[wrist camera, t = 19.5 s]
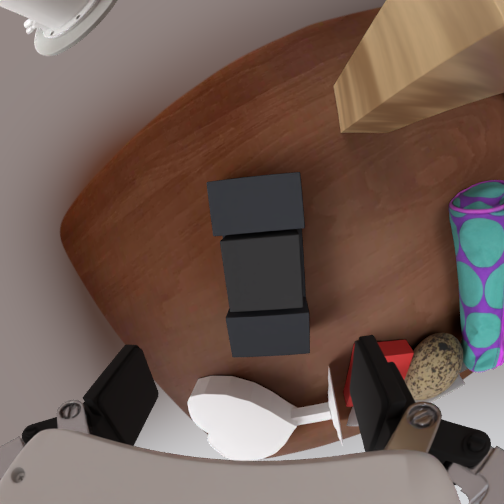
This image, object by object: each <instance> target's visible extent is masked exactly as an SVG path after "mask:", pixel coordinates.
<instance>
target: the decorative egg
mask: <svg viewBox="0 0 504 504" xmlns="http://www.w3.org/2000/svg"><path fill="white" fill-rule="evenodd" d="M413 352H414V354H413V357H412V360H411V363H410V366H409V369H408V371H407V374H406V377H405V379H404V381H405V383H406V385H407V387H408V389H409V391H410V392H411V394H412V396H413V398H414V400H426V399H430V398H433V397H435V396H437V395H439V394H441V393H443V392H444V391H445V390H447V389H448V388H449V387H450V386H451V385H452V384H453V383H454V381H455V380H456V378H457V377H458V375H459V373H460V371H461V368H462V364H463V350H462V346H461V344H460V342H459V341H458V339H457V338H456V337H454V336H453V335H451V334H448V333H436V334H433V335H430V336H429V337H427V338H425V339H424V340H423V341H422V342H420V343H419V344H418V346H417V347H416V348H415V349H414V351H413Z"/></svg>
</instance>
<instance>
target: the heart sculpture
mask: <svg viewBox="0 0 504 504" xmlns="http://www.w3.org/2000/svg"><path fill="white" fill-rule="evenodd" d="M328 382H329V387H328V402H326V403H321V404H317V405H311V406H306V407H300V408H297V407H296V406H294V405H292V404H290V403H288V402H287V401H285V400H284V399H282V398H281V397H279V396H278V395H276V394H275V393H273V392H272V391H270V390H268V389H266V388H264V387H262V386H260V385H258V384H256V383H255V382H251V381H248V380H244V379H241V378H237V377H234V376H208V377H204V378H200V379H198V381H197V383H196V385H195V387H194V389H193V392H192V394H191V396H190V398H189V400H188V402H187V403H188V409H189V413H190V415H191V418H192V420H193V421H194V423H195V424H196V425H197V426H198V427H199V428H201V429H202V430H204V431H205V432H207V433H209V434H208V438H207V440H208V443H209V444H210V445H211V447H213V448H214V449H215V450H216V451H217V452H218V453H220V454H221V455H223V456H224V457H226V458H228V459H231V460H240V461H251V460H259V459H263V458H266V457H268V456H270V455H272V454H275V453H276V452H277V451H278V450H279V449H280V448H281V447H282V446H283V445H284V444H285V443H286V442H287V440H288V438H289V437H290V435H291V434H292V432H293V431H294V430H295V428H296V427H297V425H302V424H308V423H314V422H319V421H324V420H329V419H332V420H333V424H334V427H335V428H336V430H337V432H338V437H339V439H340V441H341V443H342V445H343V442H342V433H341V426H340V420H339V414H338V409H337V403H336V398H335V393H334V388H333V383H332V378H331V373H330V368H329V370H328Z"/></svg>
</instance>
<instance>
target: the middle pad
mask: <svg viewBox="0 0 504 504" xmlns="http://www.w3.org/2000/svg"><path fill="white" fill-rule="evenodd" d="M220 245H221V252H222V259H223V266H224V273H225V280H226V287H227V294H228V301H229V307H230V312H240V311H258V310H274V309H288V308H301V307H303V290H302V271H301V254H300V239H299V234H298V231H297V229H289V230H277V231H265V232H254V233H243V234H232V235H226V236H225V237H224V238H223V239H222V240H221V241H220Z"/></svg>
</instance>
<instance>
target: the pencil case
mask: <svg viewBox="0 0 504 504" xmlns="http://www.w3.org/2000/svg"><path fill="white" fill-rule="evenodd" d="M449 219H450V223H451V229H452V235H453V240H454V246H455V254H456V262H457V273H458V281H459V299H460V320H461V333H462V340H461V346H462V350H463V362H464V364H465V365H466V367H467V368H468V369H470V370H471V371H473V372H484V371H487V370H489V369H495V368H496V367H497V366H499V365H502V364H503V363H504V181H503V180H490V181H484V182H480V183H477V184H475V185H472V186H470V187H469V188H467V189H464V190H462V191H461V192H459V193H458V194H457V195H456V196H455V197H454V198H453V199H452V200H451V202H450V203H449Z"/></svg>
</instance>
